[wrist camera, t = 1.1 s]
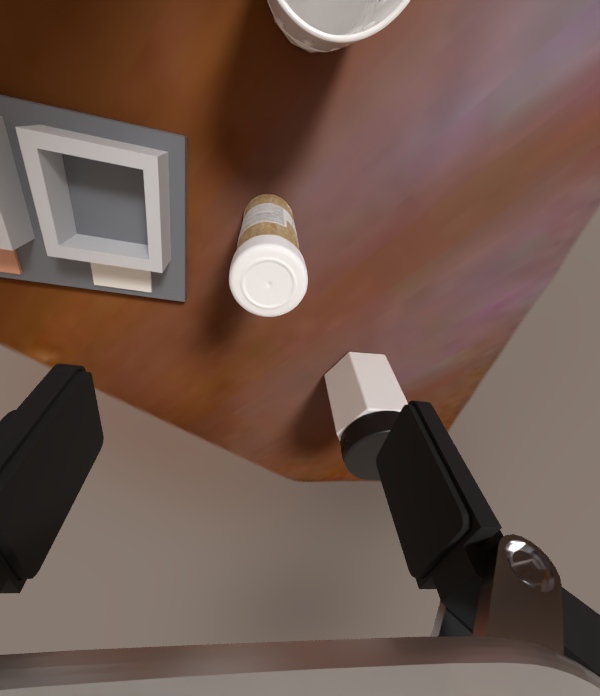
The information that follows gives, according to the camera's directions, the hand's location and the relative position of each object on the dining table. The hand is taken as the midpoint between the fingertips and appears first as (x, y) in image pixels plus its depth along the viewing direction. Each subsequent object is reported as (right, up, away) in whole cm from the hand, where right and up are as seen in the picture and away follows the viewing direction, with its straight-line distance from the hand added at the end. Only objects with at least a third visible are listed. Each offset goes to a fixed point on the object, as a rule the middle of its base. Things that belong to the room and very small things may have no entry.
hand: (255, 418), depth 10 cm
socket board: (-19, +14, +17) cm, 29 cm away
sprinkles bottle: (-1, +14, +19) cm, 24 cm away
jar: (+9, -1, +32) cm, 33 cm away
